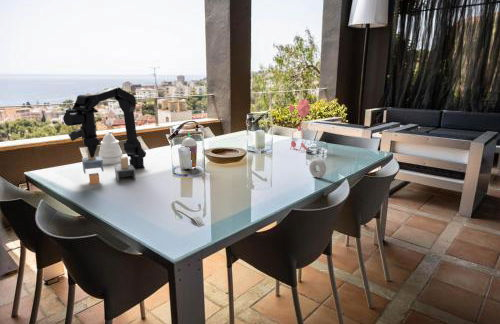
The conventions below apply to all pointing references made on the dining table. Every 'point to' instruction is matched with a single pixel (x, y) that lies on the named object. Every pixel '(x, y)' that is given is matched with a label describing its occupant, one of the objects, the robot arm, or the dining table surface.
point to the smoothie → (191, 148)
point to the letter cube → (94, 178)
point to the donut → (321, 168)
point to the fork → (191, 216)
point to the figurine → (302, 110)
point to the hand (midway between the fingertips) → (91, 156)
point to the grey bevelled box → (124, 169)
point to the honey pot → (110, 149)
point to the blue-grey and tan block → (92, 162)
